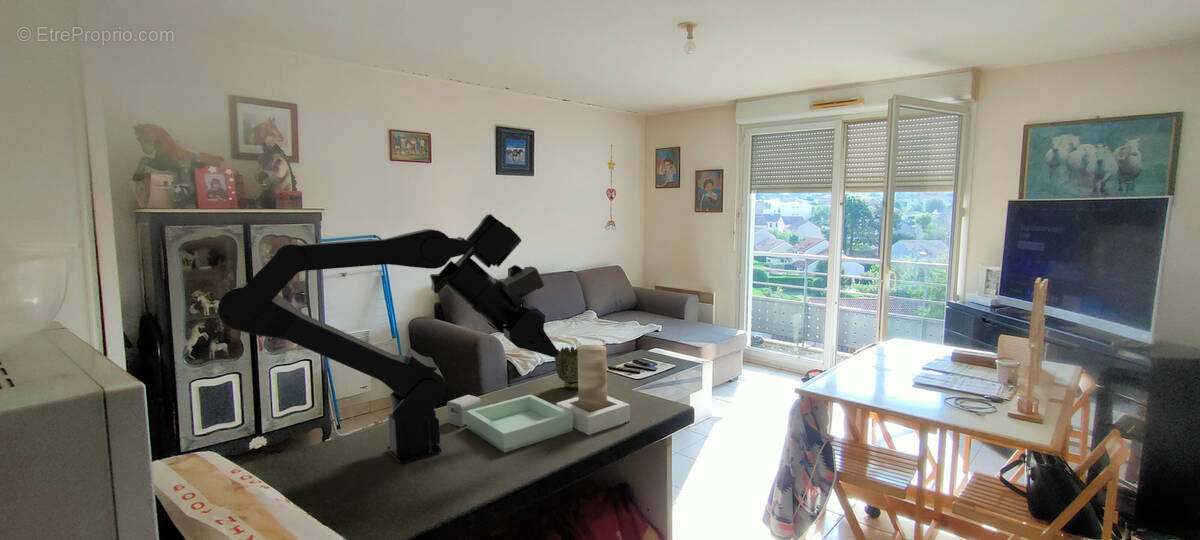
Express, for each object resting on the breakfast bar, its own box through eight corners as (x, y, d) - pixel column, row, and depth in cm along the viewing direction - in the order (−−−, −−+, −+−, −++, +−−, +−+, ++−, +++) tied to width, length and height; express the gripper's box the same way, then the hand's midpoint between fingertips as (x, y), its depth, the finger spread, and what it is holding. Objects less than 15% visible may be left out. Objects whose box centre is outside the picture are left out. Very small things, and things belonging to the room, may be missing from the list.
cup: (549, 385, 118) (548, 348, 117) (581, 380, 121) (581, 344, 120) (562, 395, 111) (561, 356, 111) (595, 390, 114) (595, 352, 114)
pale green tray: (504, 452, 85) (504, 433, 85) (466, 427, 95) (466, 410, 95) (572, 430, 94) (572, 413, 93) (531, 410, 104) (531, 394, 103)
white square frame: (588, 434, 92) (588, 417, 91) (556, 419, 99) (556, 402, 98) (629, 421, 97) (629, 404, 97) (597, 407, 105) (596, 391, 104)
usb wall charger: (447, 422, 98) (446, 400, 98) (477, 411, 104) (477, 390, 103) (462, 427, 96) (461, 405, 95) (492, 415, 101) (492, 394, 101)
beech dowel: (590, 428, 95) (589, 353, 93) (573, 419, 98) (571, 347, 97) (613, 420, 98) (612, 348, 96) (595, 413, 102) (594, 343, 100)
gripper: (529, 255, 81) (600, 321, 87) (497, 248, 98) (559, 304, 104) (477, 313, 79) (554, 378, 84) (454, 296, 96) (519, 350, 101)
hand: (547, 348), depth 94 cm, fingers open, 9 cm apart
